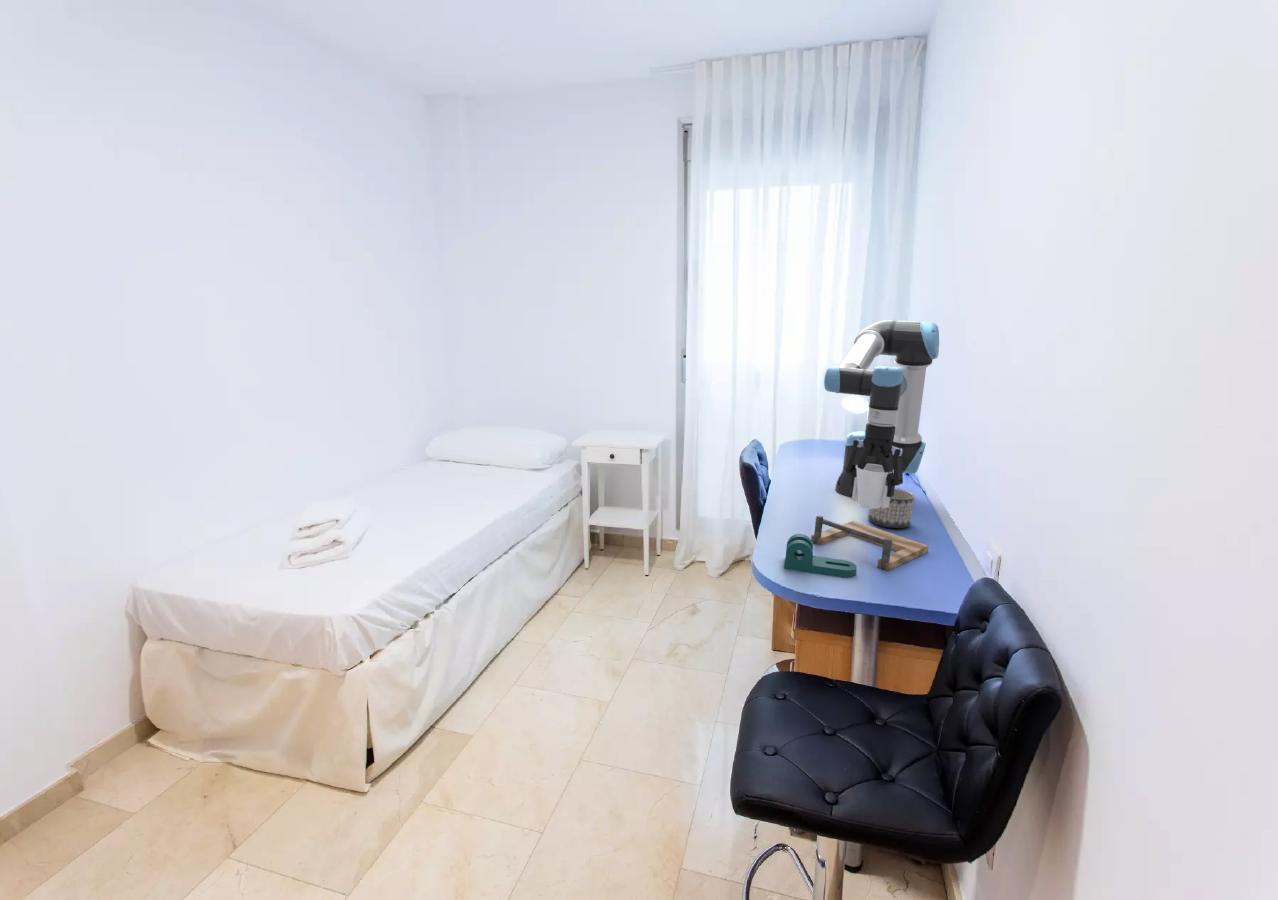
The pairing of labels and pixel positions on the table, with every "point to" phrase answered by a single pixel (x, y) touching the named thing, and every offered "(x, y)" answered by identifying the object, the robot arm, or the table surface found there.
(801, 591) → the table surface
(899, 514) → the planter
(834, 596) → the table surface
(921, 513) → the table surface
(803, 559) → the bracket
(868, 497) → the cup
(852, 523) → the wooden frame with crossbar
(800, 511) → the table surface
